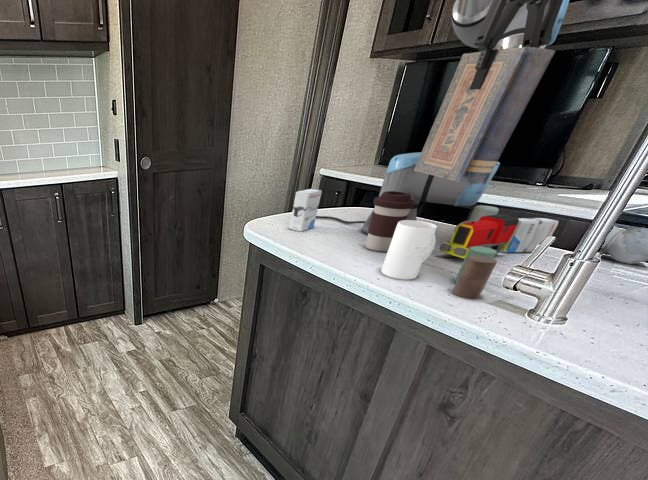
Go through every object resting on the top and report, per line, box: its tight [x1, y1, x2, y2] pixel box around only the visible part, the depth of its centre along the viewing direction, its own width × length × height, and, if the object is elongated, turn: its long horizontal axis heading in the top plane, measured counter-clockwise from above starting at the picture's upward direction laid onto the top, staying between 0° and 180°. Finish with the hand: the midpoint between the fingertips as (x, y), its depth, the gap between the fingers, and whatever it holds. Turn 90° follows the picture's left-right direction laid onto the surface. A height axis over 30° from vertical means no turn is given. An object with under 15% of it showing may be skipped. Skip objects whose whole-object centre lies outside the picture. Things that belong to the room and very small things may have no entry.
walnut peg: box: [452, 255, 498, 299], centre depth 86 cm, size 5×5×8 cm
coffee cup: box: [365, 191, 415, 253], centre depth 112 cm, size 10×10×15 cm
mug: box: [380, 219, 438, 280], centre depth 96 cm, size 8×12×12 cm
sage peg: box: [454, 246, 497, 284], centre depth 91 cm, size 5×5×8 cm
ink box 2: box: [500, 217, 559, 254], centre depth 112 cm, size 9×5×12 cm
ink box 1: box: [288, 188, 323, 232], centre depth 131 cm, size 8×5×12 cm, turn 132°
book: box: [414, 45, 556, 184], centre depth 87 cm, size 17×7×25 cm, turn 5°
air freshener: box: [453, 204, 500, 233], centre depth 118 cm, size 11×8×10 cm
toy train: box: [438, 213, 519, 260], centre depth 107 cm, size 7×19×10 cm, turn 113°
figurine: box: [598, 225, 648, 265], centre depth 104 cm, size 10×9×15 cm
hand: (491, 89), depth 84 cm, fingers closed on book, 7 cm apart
